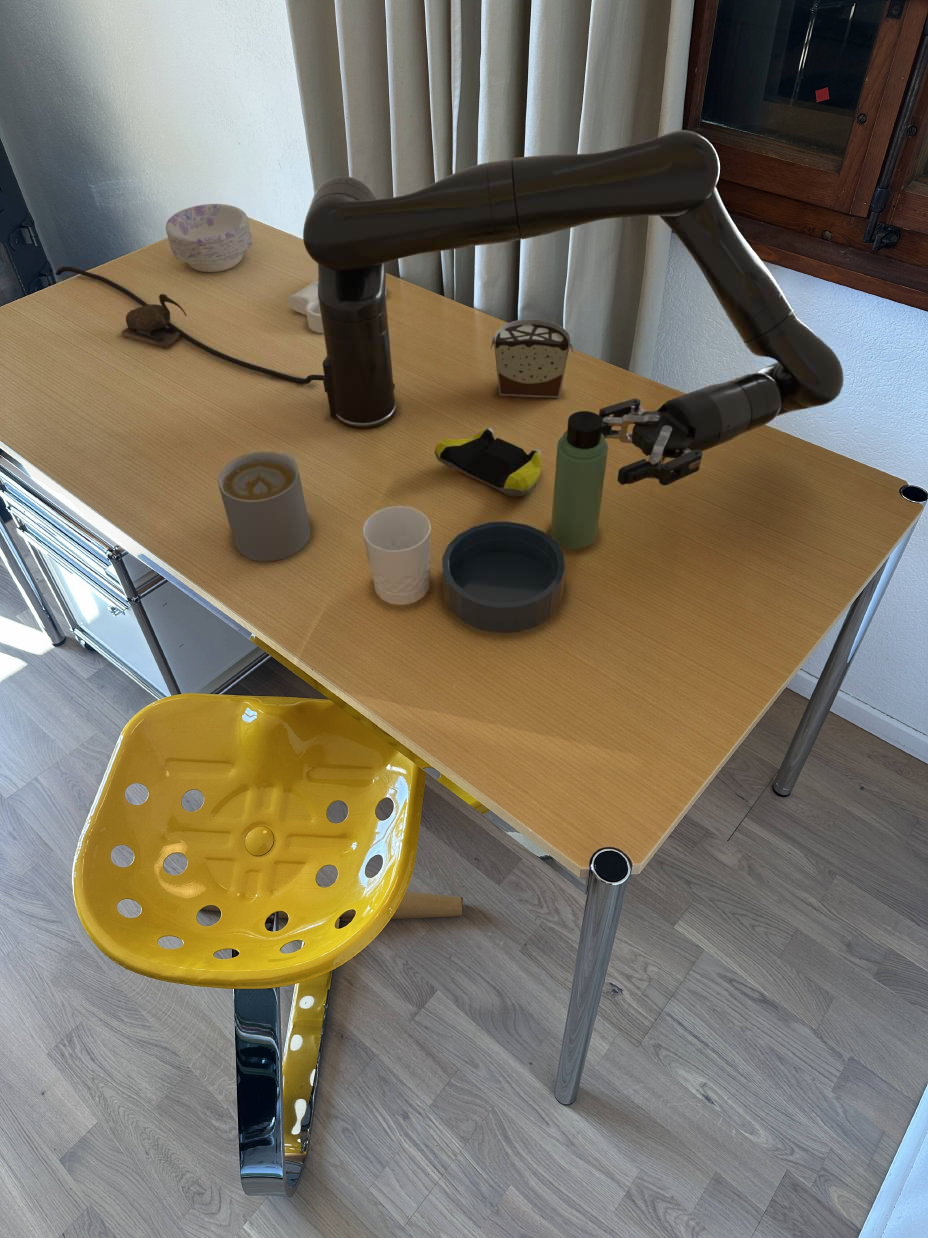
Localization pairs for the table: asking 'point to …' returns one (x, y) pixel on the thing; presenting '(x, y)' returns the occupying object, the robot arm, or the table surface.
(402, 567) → the white cup
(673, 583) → the table surface
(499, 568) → the dark blue bowl
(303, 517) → the coffee mug
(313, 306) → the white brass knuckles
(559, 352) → the food container
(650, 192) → the robot arm
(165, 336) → the figurine
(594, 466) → the bottle
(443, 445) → the black and yellow shoe
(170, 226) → the paper bowls
